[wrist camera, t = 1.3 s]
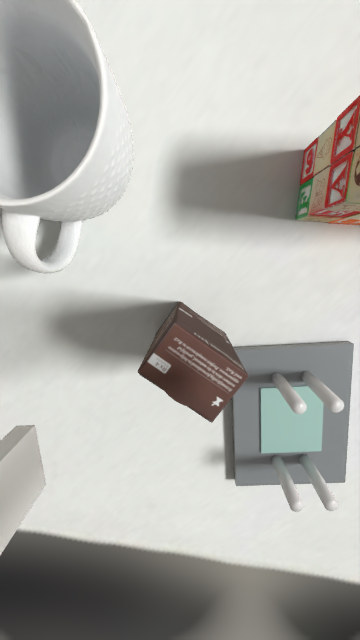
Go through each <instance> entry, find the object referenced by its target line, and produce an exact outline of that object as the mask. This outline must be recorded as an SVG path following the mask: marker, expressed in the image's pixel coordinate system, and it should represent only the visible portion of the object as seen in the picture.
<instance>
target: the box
mask: <svg viewBox="0 0 360 640" xmlns="http://www.w3.org/2000/svg"><path fill="white" fill-rule="evenodd" d="M138 373H139V374H140V375H141V376H142V377H144V378H146V379H147V380H149V381H150V382H152V383H153V384H155V385H156V386H158V387H159V388H161V389H162V390H164V391H165V392H166V393H167V394H168V395H169V396H170V397H171V398H172V399H174V400H175V401H177V402H178V403H180V404H183V405H185V406H187V407H189V408H190V409H192V410H193V411H195V412H196V413H198V414H199V415H201V416H202V417H204V418H205V419H207V420H208V421H209V422H211V423H212V422H213V421H214V420H215V418H216V417H217V416H218V414H219V413H220V412H221V410H222V409H223V408H224V407H225V405H226V404H227V403H228V402H229V400H230V399H231V398H232V397H233V396H234V394H235V393H236V392H237V391H238V390H239V388H240V387H241V386H242V385H243V383H244V382H245V381H246V380H247V378H248V377H249V375H248V373H247V372H246V370H245V368H244V367H243V365H242V363H241V361H240V359H239V357H238V356H237V354H236V352H235V350H234V348H233V347H232V344H231V343H230V341H229V339H228V338H227V336H226V334H225V332H223V331H222V330H220V329H219V328H217V327H216V326H214V325H213V324H211V323H210V322H208V321H207V320H206V319H204V318H203V317H201V316H200V315H198V314H197V313H195V312H194V311H193V310H191V309H190V308H189V307H187V306H186V305H185V304H183V303H182V302H179V303H178V304H177V305H176V307H175V308H174V309H173V311H172V312H171V314H170V315H169V316H168V318H167V319H166V320H165V322H164V323H163V325H162V326H161V327H160V329H159V330H158V331H157V333H156V336H155V338H154V340H153V342H152V344H151V346H150V348H149V350H148V352H147V354H146V356H145V358H144V360H143V362H142V364H141V366H140V368H139V369H138Z"/></svg>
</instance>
